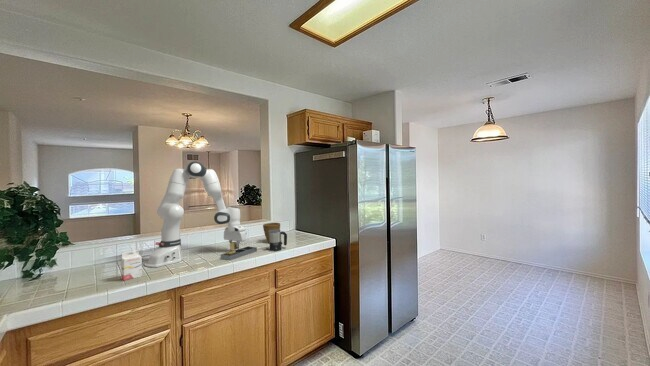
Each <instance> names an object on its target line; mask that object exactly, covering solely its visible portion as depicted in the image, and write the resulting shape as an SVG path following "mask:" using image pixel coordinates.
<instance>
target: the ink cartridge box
mask: <svg viewBox="0 0 650 366" xmlns="http://www.w3.org/2000/svg"><path fill="white" fill-rule="evenodd" d="M139 251H140V250H139V249H134V250H129V251H124V252H122V253H121V259H120V261H121V263H120V264H121V267H120V269H121V280H122V281H128V280H133V278H134V279H137V277H138V278H141V276H142V277H143V262H142V261H143V260H142V259H143V258H142V255H140V254H139V253H140V252H139Z"/></svg>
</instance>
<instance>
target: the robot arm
mask: <svg viewBox="0 0 650 366" xmlns="http://www.w3.org/2000/svg"><path fill="white" fill-rule="evenodd" d="M197 178H199V179H200V180H201V181H202V184H203V188H204V190H205V192H206V194H207V195H208V196H210V198H212V199H213V200H214V203H215V206H216V209H217V213H215V215H214V216H213V218H214V219H213V220H214V222H215V223H216V224H218V225H224V224H227V227H225V228H224V232H223V239H224V240H226V241H228V242H229V244H230V243H231V242H237V244H236V247H239V248H240V243H243V242H245V241H246V239H247V236H246V235H247V234H246V233H247V232H246V227H245V226H243V225H241V210H240V207H238V206H233V205H230V206H228V207H227V206H226V202H225V200H224V196H223V193H222V187H221V183H220V180H219V177H218V175H217V173H216V171H215V170H214V169H212V168H208V169H207V167H206V166H205V165H204V164H202V163H200V162H199V161H197V160H196V161H191V162H189V163H188V164H187V166H186V168H175V169H173V171H172V172H171V175H170V177H169V180H168V183H167V187H166V190H165V194H164V196H163V198H162V200H161V202H160V203H159V206H158V207H157V209H156V213H157V215H158V216H159V217H160V218H161V219H163V223H162V227H161V228H160V233H161V235H160V236H161V237H160V239H161V240H160V242H158V241H157V242H155V246H158V247H157V248H156V249H155V250H154V251H153V252H151V253H150V254H149V256H148V261H147V262H145V263H144V267H146V268H159V267H164V266H169V265H173V264H177V263H181V262H182V261H183V260H184V257H183V253H182V247H181V246H182V239H181V222H182V218H183V216H184V213H185V210H184V208H183V207H182V206H181V205H180V203H181V201H182V199H183V198H184V195H185V193H186V189H187V185H188V181H189V179H191V180H192V179H194V180H195V179H197Z"/></svg>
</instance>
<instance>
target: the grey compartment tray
mask: <svg viewBox="0 0 650 366" xmlns="http://www.w3.org/2000/svg"><path fill="white" fill-rule="evenodd" d="M234 251H236V254H233V255H226V253H225V252H224V253H222V254H220V260H225V261H233V260H235V259H240V258H242V257H245V256H247V255H251V254H254V253H256V252H258V247H255V246H250V245H249V246H245V247H241V248H239V249H235V250H234Z"/></svg>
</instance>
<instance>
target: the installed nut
mask: <svg viewBox="0 0 650 366" xmlns="http://www.w3.org/2000/svg"><path fill="white" fill-rule="evenodd" d="M224 253H226V255H233V254H236V251H234V250H233V249H230V250H227V251H225V252H224Z"/></svg>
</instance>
